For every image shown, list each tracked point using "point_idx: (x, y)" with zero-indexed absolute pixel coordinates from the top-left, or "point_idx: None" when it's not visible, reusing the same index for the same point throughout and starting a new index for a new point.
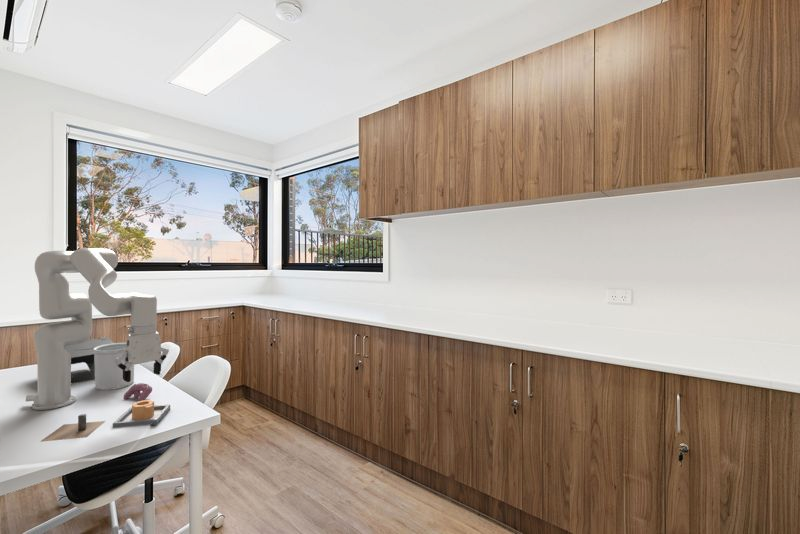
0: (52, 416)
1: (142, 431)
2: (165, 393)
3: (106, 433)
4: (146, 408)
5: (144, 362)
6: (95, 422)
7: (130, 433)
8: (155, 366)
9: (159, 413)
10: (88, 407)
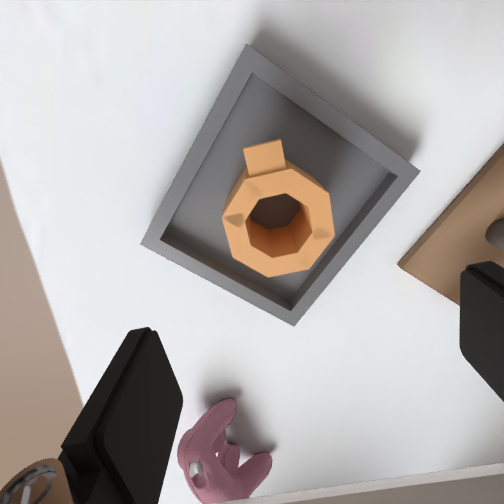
0: (477, 441)
1: (324, 17)
2: None
3: (441, 136)
4: (281, 146)
5: (419, 478)
6: (433, 279)
7: (373, 40)
8: (146, 451)
9: (212, 142)
10: (377, 450)
